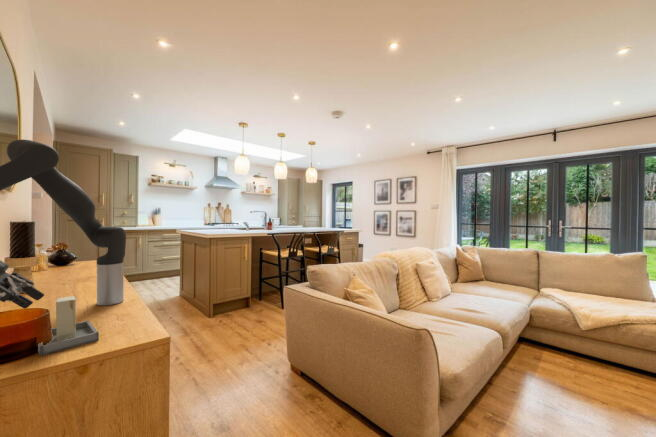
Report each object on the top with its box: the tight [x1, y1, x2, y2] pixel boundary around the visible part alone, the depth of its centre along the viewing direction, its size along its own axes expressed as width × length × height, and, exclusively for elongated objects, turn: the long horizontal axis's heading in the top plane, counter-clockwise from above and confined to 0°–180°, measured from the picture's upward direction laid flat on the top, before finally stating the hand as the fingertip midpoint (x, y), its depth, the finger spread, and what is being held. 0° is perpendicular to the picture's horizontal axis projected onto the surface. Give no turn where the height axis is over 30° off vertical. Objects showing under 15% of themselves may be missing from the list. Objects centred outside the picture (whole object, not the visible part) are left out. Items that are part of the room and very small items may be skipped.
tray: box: [37, 319, 100, 357], centre depth 85 cm, size 15×13×2 cm
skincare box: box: [55, 295, 77, 342], centre depth 85 cm, size 6×4×12 cm
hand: (35, 301), depth 81 cm, fingers open, 8 cm apart
